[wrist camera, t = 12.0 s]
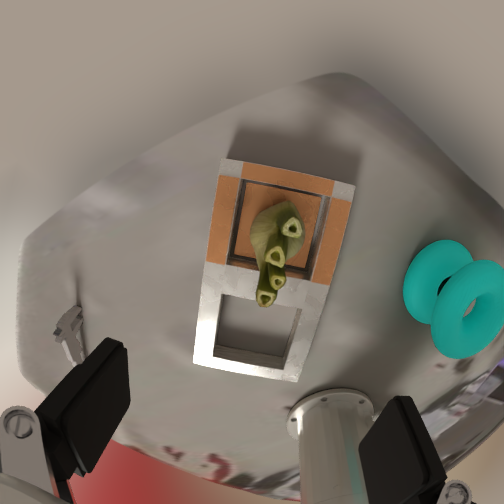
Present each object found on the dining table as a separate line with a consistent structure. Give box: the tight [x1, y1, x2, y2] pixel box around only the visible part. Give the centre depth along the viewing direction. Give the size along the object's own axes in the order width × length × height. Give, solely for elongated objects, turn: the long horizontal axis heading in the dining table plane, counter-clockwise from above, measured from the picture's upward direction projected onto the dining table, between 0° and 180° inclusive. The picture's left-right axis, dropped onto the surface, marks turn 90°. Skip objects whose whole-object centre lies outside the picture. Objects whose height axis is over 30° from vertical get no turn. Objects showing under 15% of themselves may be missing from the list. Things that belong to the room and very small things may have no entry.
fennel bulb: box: [250, 201, 305, 307], centre depth 22 cm, size 6×5×12 cm
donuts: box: [403, 240, 504, 359], centre depth 23 cm, size 10×10×10 cm
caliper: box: [53, 306, 83, 367], centre depth 33 cm, size 20×1×6 cm, turn 169°
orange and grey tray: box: [193, 158, 355, 382], centre depth 28 cm, size 12×22×3 cm, turn 170°
